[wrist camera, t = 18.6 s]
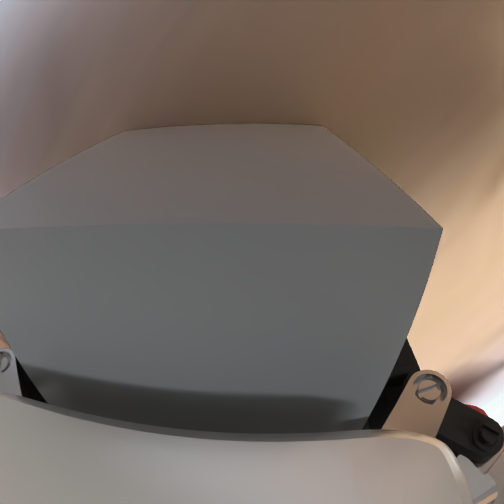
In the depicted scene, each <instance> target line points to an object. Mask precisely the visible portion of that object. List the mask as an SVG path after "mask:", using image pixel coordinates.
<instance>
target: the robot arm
mask: <svg viewBox="0 0 504 504" xmlns="http://www.w3.org/2000/svg"><path fill="white" fill-rule="evenodd" d="M451 396H452V389H451V385H450V383H449V381H448V380H447V379H446V378H445V377H444V376H443V375H441V374H440V373H438V372H436V371H432V370H421V371H420V368H419V366H418V363H417V361H416V359H415V356H414V354H413V352H412V349H411V347H410V345H409V342H408V340H407V338H406V340H405V342H404V345H403V347H402V349H401V352H400V354H399V356H398V359H397V361H396V363H395V365H394V368H393V370H392V372H391V374H390V376H389V378H388V380H387V382H386V384H385V387H384V389H383V391H382V393H381V395H380V397H379V399H378V400H377V402H376V404H375V406H374V408H373V410H372V412H371V414H370V416H369V417H368V419H367V421H366V423H365V425H364V427H363V428H362V430H353V431H337V432H320V433H290V434H248V433H223V432H208V431H195V430H185V429H175V428H167V427H159V426H152V425H145V424H138V423H132V422H127V421H121V420H116V419H110V418H105V417H100V416H96V415H91V414H87V413H82V412H78V411H74V410H70V409H66V408H62V407H58V406H55V405H51V404H48V403H47V402H46V400H45V399H44V398H43V396H42V395H41V393H40V392H39V391H38V389H37V388H36V386H35V385H34V384H33V382H32V381H31V379H30V378H29V376H28V375H27V373H26V372H25V370H24V369H23V367H22V366H21V364H20V363H19V361H18V359H17V358H16V356H15V355H14V353H13V351H12V350H10V349H7V348H3V349H0V504H504V433H503V430H502V428H501V426H500V425H499V424H498V423H497V422H496V421H494V420H493V419H491V418H489V417H487V416H485V415H484V414H482V413H480V412H478V411H476V410H474V409H472V408H470V407H468V406H467V405H465V404H463V403H461V402H459V401H457V400H455V399H453V398H452V397H451Z"/></svg>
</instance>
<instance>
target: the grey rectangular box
mask: <svg viewBox="0 0 504 504" xmlns="http://www.w3.org/2000/svg"><path fill="white" fill-rule="evenodd" d="M442 230H443V228H442V227H441V226H440V225H439V224H438V223H437V222H436V221H435V220H434V219H433V218H432V217H431V216H430V215H429V214H428V213H427V212H426V211H425V210H424V209H422V208H421V207H420V206H419V205H418V204H417V203H416V202H415V201H414V200H413V199H412V198H411V197H410V196H408V195H407V194H406V193H405V192H404V191H403V190H402V189H401V188H400V187H398V186H397V185H396V184H395V183H394V182H393V181H392V180H390V179H389V178H388V177H387V176H386V175H385V174H383V173H382V172H381V171H380V170H379V169H377V168H376V167H375V166H374V165H373V164H371V163H370V162H369V161H368V160H367V159H365V158H364V157H363V156H362V155H360V154H359V153H358V152H357V151H355V150H354V149H353V148H351V147H350V146H349V145H348V144H346V143H345V142H344V141H342V140H341V139H340V138H338V137H337V136H336V135H334V134H333V133H332V132H330V131H329V130H328V129H326V128H325V127H324V126H318V125H298V124H207V125H187V126H172V127H159V128H148V129H138V130H129V131H123V132H121V133H119V134H117V135H115V136H112V137H110V138H108V139H106V140H104V141H102V142H100V143H98V144H96V145H94V146H92V147H90V148H88V149H86V150H84V151H82V152H80V153H78V154H76V155H74V156H72V157H70V158H68V159H67V160H65V161H63V162H61V163H59V164H58V165H56V166H54V167H52V168H50V169H49V170H47V171H45V172H43V173H42V174H40V175H38V176H37V177H35V178H33V179H32V180H30V181H28V182H27V183H25V184H24V185H22V186H20V187H19V188H17V189H16V190H14V191H13V192H11V193H9V194H8V195H6V196H5V197H3V198H2V199H0V331H1V333H2V334H3V336H4V338H5V340H6V341H7V343H8V345H9V346H10V348H11V350H12V351H13V353H14V355H15V356H16V358H17V359H18V361H19V363H20V364H21V366H22V367H23V369H24V370H25V372H26V373H27V375H28V376H29V378H30V379H31V381H32V382H33V384H34V385H35V386H36V388H37V389H38V391H39V392H40V393H41V395H42V396H43V398H44V399H45V400H46V402H47V403H48V404H51V405H55V406H58V407H62V408H66V409H70V410H74V411H78V412H82V413H87V414H91V415H96V416H100V417H105V418H110V419H116V420H121V421H127V422H132V423H138V424H145V425H152V426H159V427H167V428H175V429H185V430H195V431H208V432H223V433H248V434H290V433H320V432H337V431H353V430H362V428H363V427H364V425H365V423H366V421H367V419H368V417H369V416H370V414H371V412H372V410H373V408H374V406H375V404H376V402H377V400H378V399H379V397H380V395H381V393H382V391H383V389H384V387H385V384H386V382H387V380H388V378H389V376H390V374H391V372H392V370H393V368H394V365H395V363H396V361H397V359H398V356H399V354H400V352H401V349H402V347H403V345H404V342H405V340H406V338H407V335H408V333H409V330H410V328H411V325H412V323H413V320H414V317H415V315H416V312H417V309H418V307H419V304H420V301H421V298H422V296H423V293H424V290H425V287H426V284H427V281H428V278H429V275H430V272H431V268H432V265H433V262H434V259H435V255H436V252H437V248H438V245H439V241H440V237H441V234H442Z"/></svg>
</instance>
